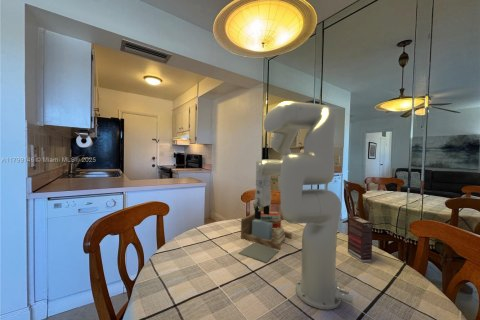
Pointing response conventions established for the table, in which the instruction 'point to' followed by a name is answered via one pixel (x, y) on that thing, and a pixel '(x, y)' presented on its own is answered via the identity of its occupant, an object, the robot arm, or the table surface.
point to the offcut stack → (278, 235)
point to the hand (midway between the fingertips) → (262, 216)
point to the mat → (259, 252)
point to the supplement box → (360, 238)
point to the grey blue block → (262, 229)
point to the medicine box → (272, 218)
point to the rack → (247, 230)
